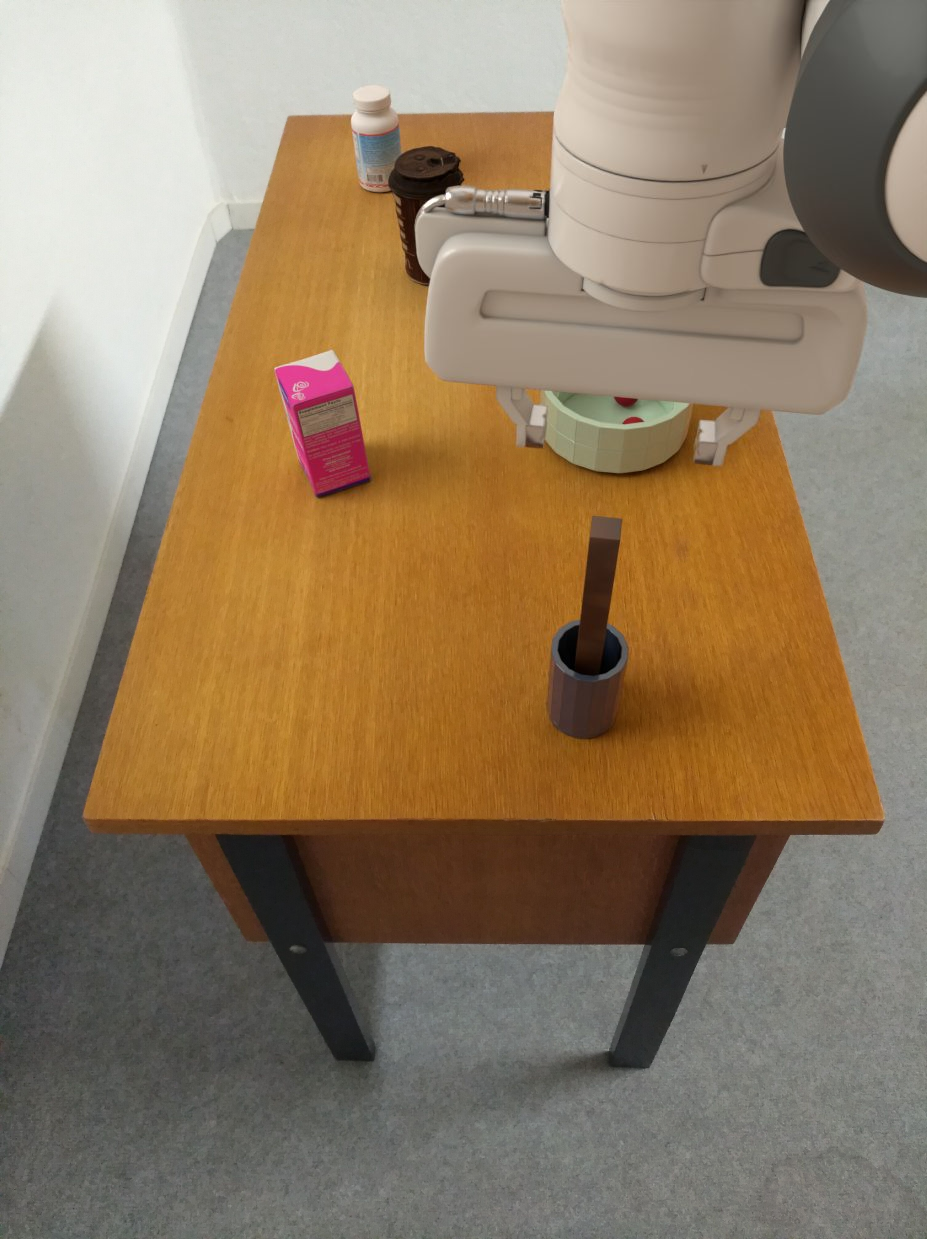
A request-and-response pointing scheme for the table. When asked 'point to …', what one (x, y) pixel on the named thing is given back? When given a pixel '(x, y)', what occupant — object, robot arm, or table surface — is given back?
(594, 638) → the stirring stick
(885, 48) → the robot arm
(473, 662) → the table surface
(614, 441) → the bowl
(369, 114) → the pill bottle
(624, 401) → the berry
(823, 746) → the table surface
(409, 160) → the coffee cup
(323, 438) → the supplement box
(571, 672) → the stick holder
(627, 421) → the berry
